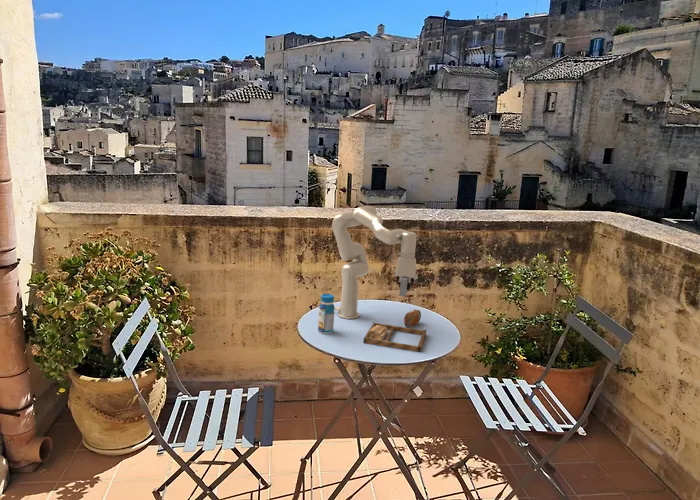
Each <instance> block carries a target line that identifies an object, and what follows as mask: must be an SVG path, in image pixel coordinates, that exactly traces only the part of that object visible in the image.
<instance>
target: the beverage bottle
mask: <svg viewBox="0 0 700 500" xmlns="http://www.w3.org/2000/svg"><path fill="white" fill-rule="evenodd" d="M334 301H335V295H334V294H332V293H323V294H321V296H320V302H321V303H320V304H319V307H318V324H317V325H318V327H317V331H318V332H319V333H320V334H324V335H329V334H332V333H334V326H335V325H334V322H335V307H334V306H335V304H334Z"/></svg>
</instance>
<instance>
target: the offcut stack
mask: <svg viewBox="0 0 700 500" xmlns="http://www.w3.org/2000/svg"><path fill="white" fill-rule="evenodd" d="M369 334H371V335H370V336H369V337H368V338H371V339H377V340H383V341H384V340H385V339H386V338H387V336H388V334H389V330H387V328H386V327H384V326H380V325H376V326H375V327H373V328H372V329H371V330H370V332H369Z"/></svg>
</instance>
